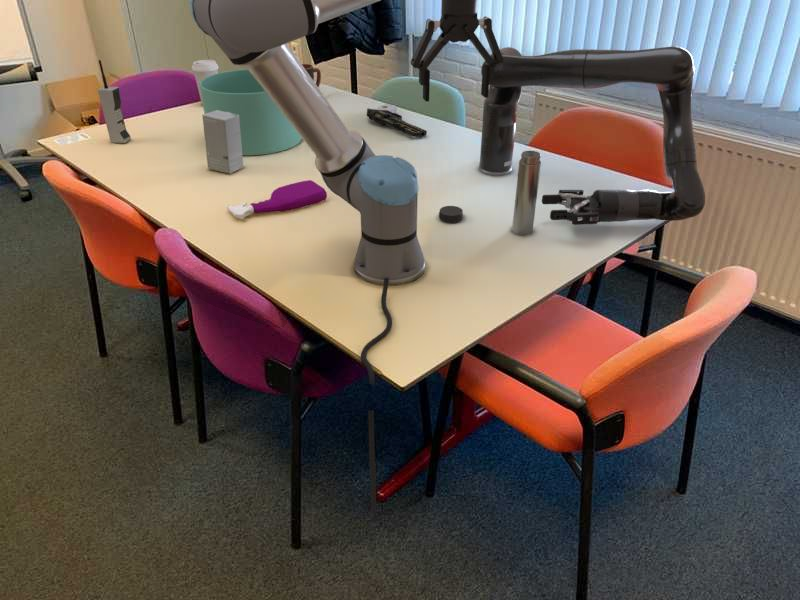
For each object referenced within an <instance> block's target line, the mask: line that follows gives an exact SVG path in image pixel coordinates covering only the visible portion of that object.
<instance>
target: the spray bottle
mask: <svg viewBox="0 0 800 600" xmlns="http://www.w3.org/2000/svg"><path fill="white" fill-rule="evenodd" d="M327 198H328V193H327V191H326V189H325V188H324V187H322V186H321V185H319V184H318V183H317V182H315V181H313V180H312V179H309V180H302V181H297V182H294V183H289V184H285V185H283V186H279V187H277V188H276V189H274V190H273V191H272V193H271V194H270V198H269V199H267V200H266V199H265V200H264V201H263V200H261V201H259V202H255V203H254V202H252V203H250V205H247V202H244V203H242V204H240V205H226V209H227V211H228V212H229V213H230V214H232V216H234V217H235V218H236V219H241V220H244V219H245V218H246V217H247V216H250V215H253V214H267V213H275V212H280V213H284V212H289V211H295V210H298V209H302V208H306V207H308V206H313V205H315V204H319V203H322V202H324V201H325V200H327Z"/></svg>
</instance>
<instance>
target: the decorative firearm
mask: <svg viewBox="0 0 800 600" xmlns="http://www.w3.org/2000/svg"><path fill="white" fill-rule="evenodd" d="M397 110H398V107H397V105H393V104H388V103H385V104H382V105H379V106H378V107H376V108H369V107H367V108H366V117H367V118H368V119H369V120H370V121H373V122H374V123H377V124H379V125H382V126H383V127H384V126H389V127H391V128H393V129H395V130H397V131H399V132H401V133H404V134H406V135H408V136H411V137H415V138H416V137H419V138H424V137H426V136H427V132H428V130H426V129H423V128H421V127H420V126H416V125H413V124H411V123H409V122H406V121H405V120H403V115H401V114H399V113H397Z"/></svg>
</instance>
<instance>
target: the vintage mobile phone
mask: <svg viewBox="0 0 800 600" xmlns="http://www.w3.org/2000/svg"><path fill="white" fill-rule="evenodd" d="M98 65H99V68H100V72H101V78H102V82H103V86H102V87H100V88H99V89H98V88H97V93H98V97H99V101H100V106H101V109H102V113H103V117H104V121H105V125H106V129H107V132H108V133H107V134H108V137H109V141H110V142H111V143H114V144H115V143H116V144H126V143H127V142H129V141H131V140H132V137H131V135H130V133H129V132H128V130H127V128H126V127H127V126H126V124H125V118H124V115H123V111H122V106H121V105H122V99H121V93H120V87H119V86H108V82H107V79H106V75H105V72H104V68H103V64H102V60H101V59H99V60H98Z"/></svg>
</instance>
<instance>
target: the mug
mask: <svg viewBox="0 0 800 600" xmlns="http://www.w3.org/2000/svg"><path fill="white" fill-rule="evenodd" d="M301 64H302V65H303V67H304V68H305V70H306V71H307V72H308V74H309V75H310V77H311V78H312V79H313V81H314V82H315V75H314V73H316V82H315V84H316V85H317V87H318V88H319V89H320V85H321V80H322V74H321V72H322V71H321V70H320V68H317V67H315V68H314V67H313V64H307V63H301Z"/></svg>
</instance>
